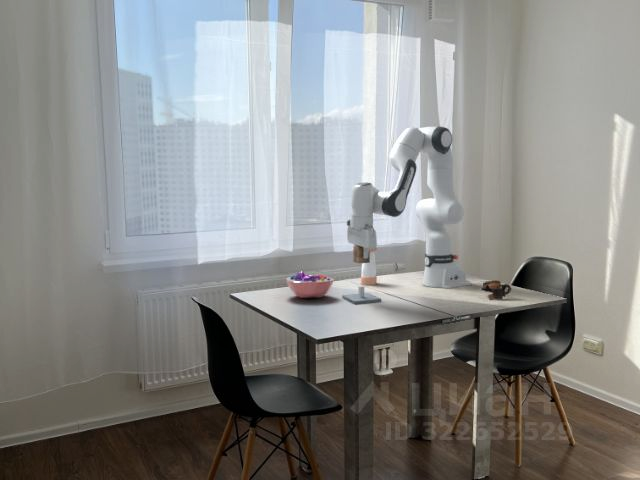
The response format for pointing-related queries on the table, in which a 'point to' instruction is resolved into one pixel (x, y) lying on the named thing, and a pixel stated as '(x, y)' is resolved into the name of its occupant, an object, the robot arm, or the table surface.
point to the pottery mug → (496, 289)
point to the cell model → (309, 285)
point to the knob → (360, 255)
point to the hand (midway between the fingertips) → (361, 256)
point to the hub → (361, 297)
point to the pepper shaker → (369, 270)
